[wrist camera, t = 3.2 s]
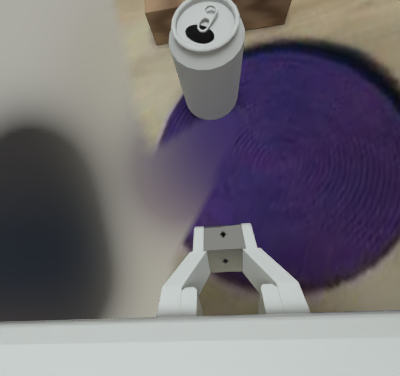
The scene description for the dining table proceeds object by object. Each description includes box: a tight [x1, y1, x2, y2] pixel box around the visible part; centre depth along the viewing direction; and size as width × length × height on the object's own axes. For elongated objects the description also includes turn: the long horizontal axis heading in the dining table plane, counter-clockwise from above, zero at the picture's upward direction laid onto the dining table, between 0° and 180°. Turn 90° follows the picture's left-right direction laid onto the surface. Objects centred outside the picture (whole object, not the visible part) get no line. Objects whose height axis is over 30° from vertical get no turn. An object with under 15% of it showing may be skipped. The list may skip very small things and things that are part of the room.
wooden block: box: [145, 0, 292, 45], centre depth 29 cm, size 20×4×5 cm, turn 94°
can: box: [169, 0, 245, 120], centre depth 23 cm, size 8×8×12 cm
